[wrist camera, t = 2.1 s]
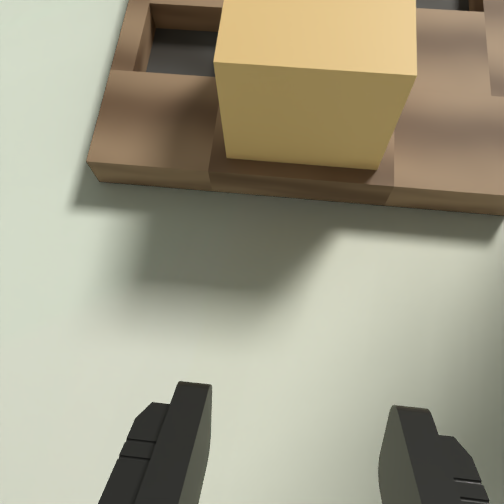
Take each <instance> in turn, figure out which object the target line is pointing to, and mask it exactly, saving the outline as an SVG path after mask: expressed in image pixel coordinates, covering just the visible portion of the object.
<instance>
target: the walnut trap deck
mask: <svg viewBox="0 0 504 504" xmlns="http://www.w3.org/2000/svg"><path fill="white" fill-rule="evenodd" d="M223 2H224V0H129V2H128V6H127V9H126V13H125V17H124V21H123V24H122V28H121V32H120V36H119V39H118V43H117V47H116V51H115V55H114V58H113V62H112V66H111V70H110V73H109V77H108V81H107V85H106V88H105V92H104V96H103V100H102V104H101V107H100V111H99V115H98V119H97V122H96V126H95V130H94V134H93V137H92V141H91V145H90V149H89V152H88V156H87V160H86V162H87V163H88V165H89V167H90V168H91V170H92V171H93V173H94V174H95V176H96V177H97V179H98V180H99V182H109V183H121V184H133V185H145V186H157V187H169V188H181V189H193V190H204V191H216V192H228V193H240V194H252V195H264V196H276V197H288V198H300V199H311V200H323V201H335V202H347V203H359V204H371V205H383V206H395V207H407V208H419V209H430V210H442V211H454V212H466V213H478V214H490V215H502V216H504V0H416V39H417V77H416V79H415V82H414V84H413V87H412V89H411V91H410V94H409V96H408V98H407V101H406V103H405V105H404V108H403V110H402V113H401V115H400V117H399V120H398V122H397V124H396V127H395V129H394V131H393V134H392V136H391V139H390V141H389V143H388V146H387V148H386V150H385V153H384V155H383V157H382V160H381V162H380V165H379V167H378V169H377V170H369V169H356V168H344V167H331V166H319V165H306V164H294V163H281V162H268V161H256V160H243V159H231V158H227V157H226V150H225V142H224V135H223V128H222V121H221V114H220V106H219V99H218V92H217V85H216V78H215V71H214V63H213V61H214V55H215V49H216V43H217V37H218V31H219V26H220V20H221V14H222V8H223Z"/></svg>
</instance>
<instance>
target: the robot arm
mask: <svg viewBox="0 0 504 504" xmlns="http://www.w3.org/2000/svg"><path fill="white" fill-rule="evenodd" d="M211 409H212V385H210V384H201V383H192V382H183V381H179V382H178V384H177V386H176V389H175V392H174V395H173V398H172V400H171V403H170V404H163V403H154V402H152V403H151V404H150V405H149V406H148V407H147V408H146V409H145V410H144V411H142V412H141V413H140V414H139V415H138V416H137V417H136V418H135V420H134V423H133V425H132V427H131V430H130V432H129V434H128V436H127V440H126V442H125V443H124V446H123V448H122V450H121V452H120V455H119V459H117V462H116V464H115V466H114V468H113V471H112V473H111V475H110V478H109V480H108V482H107V484H106V487H105V489H104V491H103V494H102V496H101V498H100V500H99V503H98V504H198V503H199V498H200V494H201V489H202V485H203V480H204V476H205V471H206V467H207V462H208V456H209V449H210V439H211ZM378 477H379V487H380V493H381V499H382V504H489V498H488V496H487V494H486V491H485V489H484V486H483V485H481V479H480V476H479V474H478V471H477V469H476V467H475V464H474V462H473V459H472V457H471V456H470V455H469V454H468V453H467V451H466V450H465V449H464V448H463V447H462V446H461V445H460V443H459V442H458V441H457V440H456V439H455V438H454V437H451V436H442V435H438V432H437V429H436V426H435V423H434V420H433V418H432V415H431V412H430V411H429V410H428V409H424V408H415V407H406V406H397V405H393V406H392V407H391V409H390V412H389V417H388V421H387V425H386V430H385V434H384V439H383V443H382V447H381V452H380V457H379V467H378Z"/></svg>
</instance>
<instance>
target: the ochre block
mask: <svg viewBox="0 0 504 504" xmlns="http://www.w3.org/2000/svg"><path fill="white" fill-rule="evenodd" d="M213 63H214V71H215V78H216V85H217V92H218V99H219V106H220V114H221V121H222V128H223V135H224V142H225V150H226V157H227V158H231V159H243V160H256V161H268V162H281V163H294V164H306V165H319V166H331V167H344V168H356V169H369V170H377V169H378V167H379V165H380V162H381V160H382V157H383V155H384V153H385V150H386V148H387V146H388V143H389V141H390V139H391V136H392V134H393V131H394V129H395V127H396V124H397V122H398V120H399V117H400V115H401V113H402V110H403V108H404V105H405V103H406V101H407V98H408V96H409V94H410V91H411V89H412V87H413V84H414V82H415V79H416V77H417V39H416V0H224V2H223V8H222V14H221V20H220V26H219V31H218V37H217V43H216V49H215V55H214V61H213Z"/></svg>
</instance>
